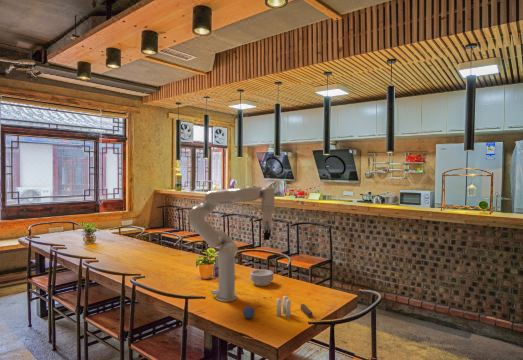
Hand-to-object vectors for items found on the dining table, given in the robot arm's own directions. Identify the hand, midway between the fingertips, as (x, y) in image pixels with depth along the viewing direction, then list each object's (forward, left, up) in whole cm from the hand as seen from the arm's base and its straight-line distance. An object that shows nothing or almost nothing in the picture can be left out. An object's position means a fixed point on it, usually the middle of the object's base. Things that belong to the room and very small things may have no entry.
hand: (267, 238), depth 203 cm
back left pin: (+12, -16, -36) cm, 42 cm away
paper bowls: (-6, +29, -37) cm, 47 cm away
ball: (-7, -26, -33) cm, 43 cm away
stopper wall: (+23, -15, -36) cm, 45 cm away
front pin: (+8, -20, -36) cm, 42 cm away
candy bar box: (-39, +45, -37) cm, 70 cm away
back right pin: (+13, -21, -36) cm, 44 cm away
